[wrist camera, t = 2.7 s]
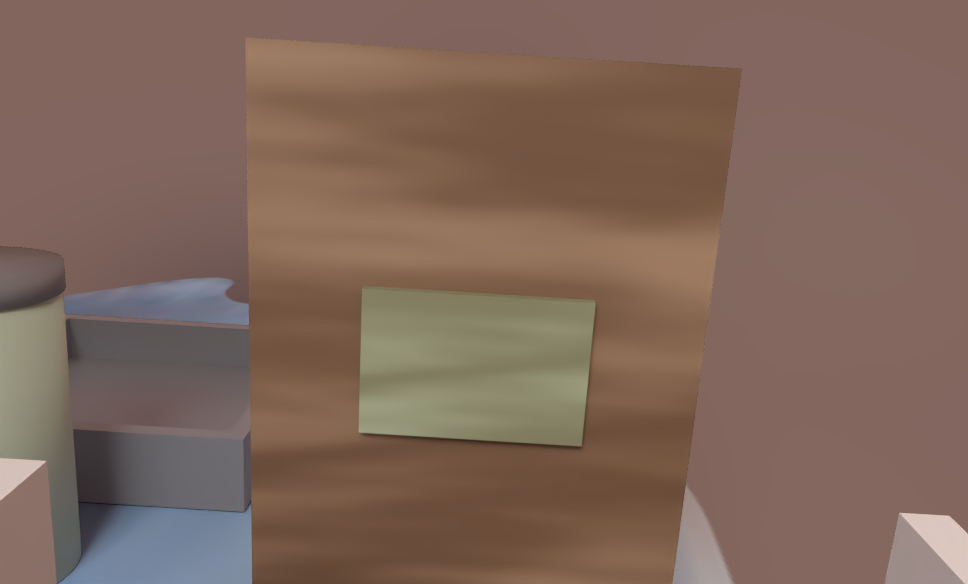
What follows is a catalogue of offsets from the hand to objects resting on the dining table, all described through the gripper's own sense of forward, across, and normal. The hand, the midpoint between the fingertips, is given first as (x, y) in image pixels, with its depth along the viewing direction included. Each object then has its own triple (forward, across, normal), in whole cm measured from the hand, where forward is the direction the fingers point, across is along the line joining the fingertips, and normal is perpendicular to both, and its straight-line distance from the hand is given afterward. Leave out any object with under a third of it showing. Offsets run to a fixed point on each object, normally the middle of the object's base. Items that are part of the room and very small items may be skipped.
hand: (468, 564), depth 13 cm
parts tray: (+30, -18, -12) cm, 37 cm away
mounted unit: (+12, 0, -12) cm, 17 cm away
